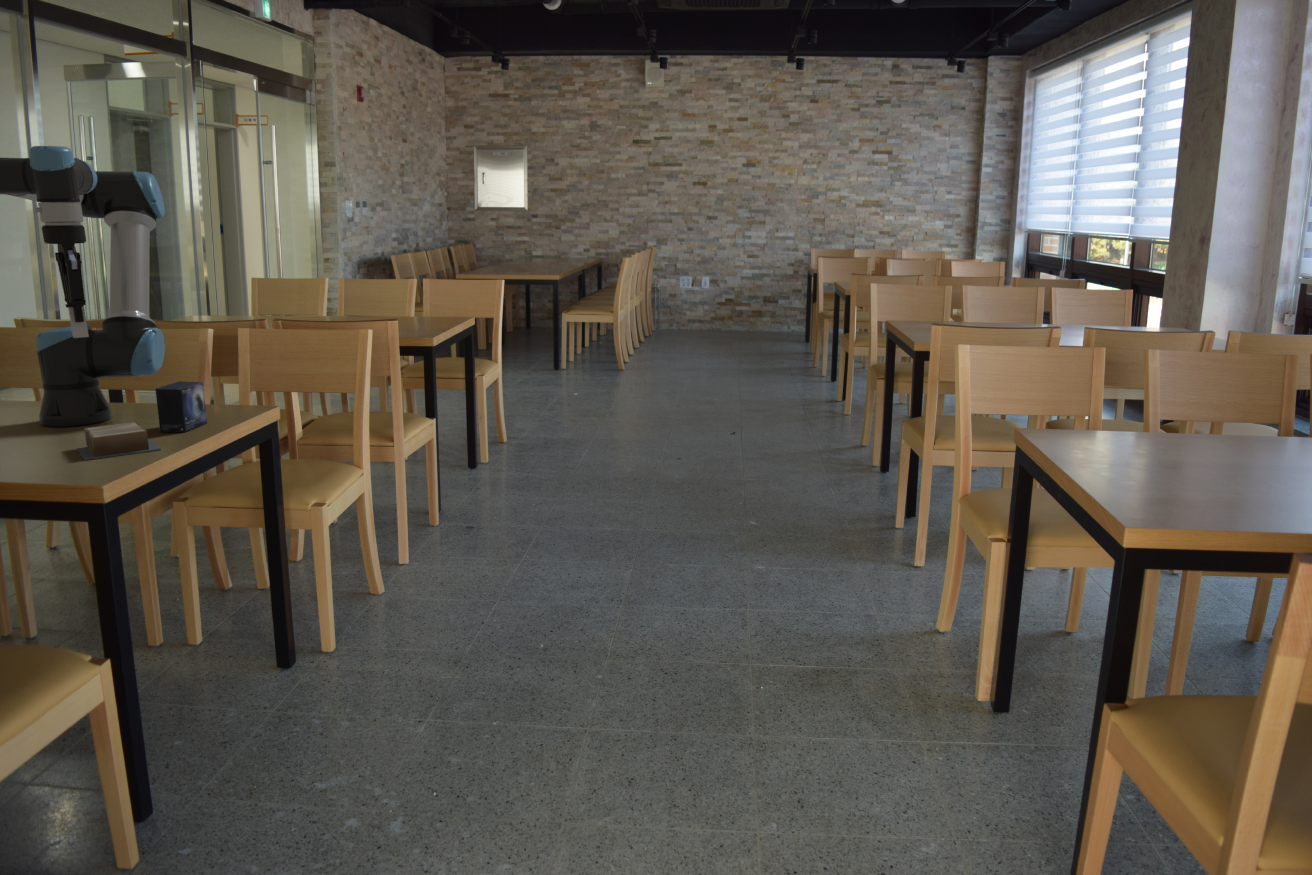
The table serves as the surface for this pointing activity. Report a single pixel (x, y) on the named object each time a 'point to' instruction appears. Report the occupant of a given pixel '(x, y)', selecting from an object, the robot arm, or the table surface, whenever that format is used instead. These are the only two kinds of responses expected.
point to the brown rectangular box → (116, 439)
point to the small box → (181, 406)
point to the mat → (89, 455)
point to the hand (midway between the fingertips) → (80, 337)
